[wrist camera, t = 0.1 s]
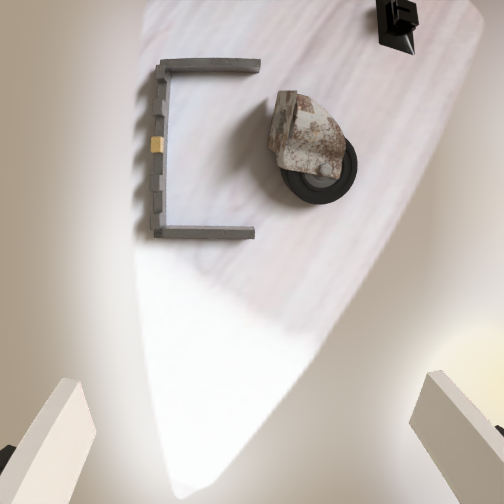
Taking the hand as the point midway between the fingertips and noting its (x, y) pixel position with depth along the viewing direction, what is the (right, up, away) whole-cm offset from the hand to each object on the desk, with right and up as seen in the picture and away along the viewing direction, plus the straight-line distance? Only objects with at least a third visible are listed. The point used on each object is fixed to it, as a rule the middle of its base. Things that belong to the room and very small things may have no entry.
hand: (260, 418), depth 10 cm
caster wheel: (+6, +18, +25) cm, 31 cm away
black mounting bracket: (+19, +37, +22) cm, 47 cm away
